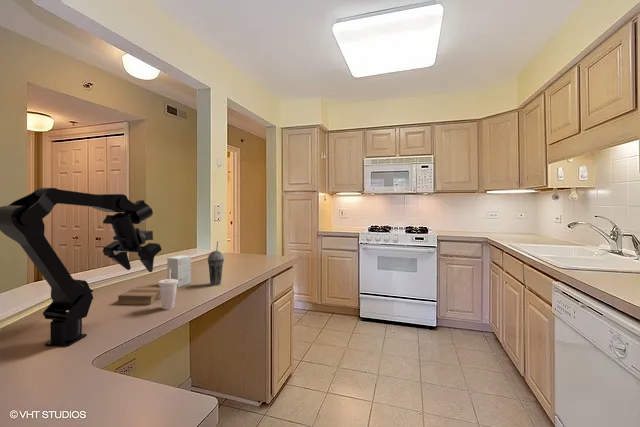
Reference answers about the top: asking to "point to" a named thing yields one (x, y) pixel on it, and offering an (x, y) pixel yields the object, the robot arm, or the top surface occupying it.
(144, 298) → the walnut plinth
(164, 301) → the smoothie
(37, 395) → the top surface
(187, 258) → the small box
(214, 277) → the beverage cup
